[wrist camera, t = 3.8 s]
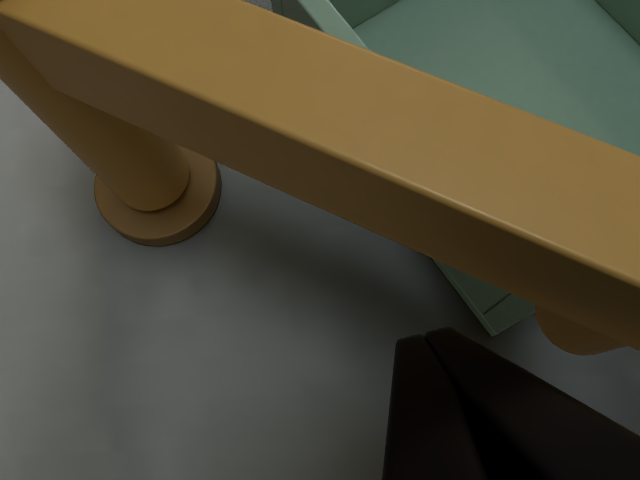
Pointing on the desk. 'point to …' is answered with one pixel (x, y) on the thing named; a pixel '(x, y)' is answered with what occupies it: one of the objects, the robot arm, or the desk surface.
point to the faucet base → (172, 219)
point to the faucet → (339, 145)
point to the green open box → (506, 73)
